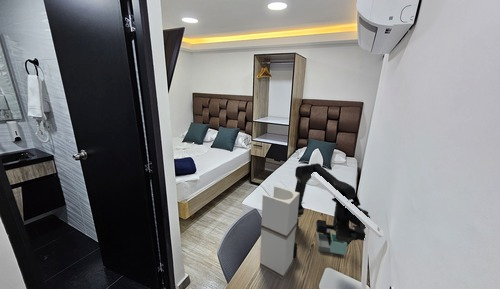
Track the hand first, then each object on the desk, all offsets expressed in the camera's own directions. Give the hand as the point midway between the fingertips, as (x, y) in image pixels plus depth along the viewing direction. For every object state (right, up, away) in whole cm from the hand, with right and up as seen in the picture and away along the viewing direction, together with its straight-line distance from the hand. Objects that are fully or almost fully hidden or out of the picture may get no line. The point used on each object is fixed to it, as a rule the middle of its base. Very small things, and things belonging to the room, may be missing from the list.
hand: (337, 246), depth 88 cm
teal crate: (0, -1, 0) cm, 1 cm away
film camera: (-21, -8, +13) cm, 26 cm away
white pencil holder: (-26, -10, +3) cm, 28 cm away
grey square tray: (+2, -8, +16) cm, 18 cm away
